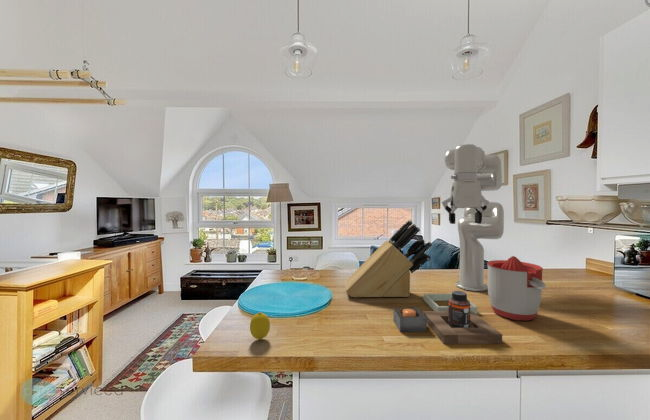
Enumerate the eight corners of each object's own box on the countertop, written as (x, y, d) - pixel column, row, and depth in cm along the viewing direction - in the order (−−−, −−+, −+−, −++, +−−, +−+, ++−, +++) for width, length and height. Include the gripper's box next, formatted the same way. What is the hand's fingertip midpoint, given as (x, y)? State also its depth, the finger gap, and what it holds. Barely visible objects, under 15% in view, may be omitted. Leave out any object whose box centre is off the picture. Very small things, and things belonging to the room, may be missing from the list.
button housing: (393, 320, 89) (393, 308, 89) (417, 319, 89) (417, 307, 89) (399, 331, 81) (399, 318, 81) (426, 331, 81) (426, 318, 81)
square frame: (422, 318, 90) (422, 311, 90) (471, 318, 90) (471, 310, 90) (443, 343, 74) (443, 334, 74) (502, 343, 74) (502, 334, 74)
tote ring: (423, 299, 107) (423, 293, 107) (458, 299, 107) (458, 293, 107) (437, 314, 94) (437, 307, 93) (477, 314, 93) (477, 306, 93)
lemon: (252, 335, 80) (251, 309, 80) (271, 334, 81) (270, 308, 81) (248, 345, 75) (247, 317, 75) (268, 344, 75) (268, 316, 75)
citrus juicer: (522, 330, 82) (523, 264, 81) (476, 308, 98) (476, 253, 98) (560, 323, 86) (561, 260, 85) (509, 303, 103) (510, 250, 102)
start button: (401, 321, 87) (401, 308, 87) (413, 321, 87) (413, 308, 87) (404, 326, 83) (404, 314, 83) (417, 326, 83) (417, 314, 83)
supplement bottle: (473, 335, 79) (473, 296, 79) (451, 333, 80) (451, 295, 80) (466, 325, 85) (466, 290, 84) (446, 324, 86) (446, 289, 86)
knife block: (433, 298, 109) (433, 221, 108) (346, 298, 110) (345, 222, 109) (423, 288, 120) (423, 219, 119) (344, 289, 121) (343, 220, 120)
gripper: (446, 177, 99) (446, 224, 100) (494, 177, 99) (494, 224, 99) (438, 179, 106) (438, 222, 107) (482, 178, 106) (482, 222, 107)
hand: (465, 223), depth 103 cm, fingers open, 9 cm apart
